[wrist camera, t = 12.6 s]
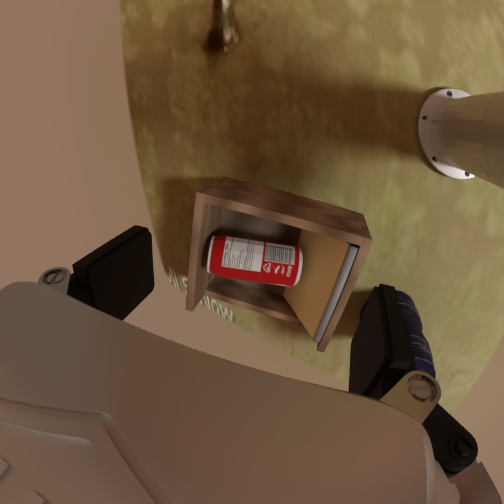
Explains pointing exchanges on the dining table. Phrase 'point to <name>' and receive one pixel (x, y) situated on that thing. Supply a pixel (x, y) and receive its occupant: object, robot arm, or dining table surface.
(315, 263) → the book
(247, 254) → the soda can
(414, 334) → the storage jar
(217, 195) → the open wooden box
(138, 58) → the dining table surface
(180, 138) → the dining table surface
